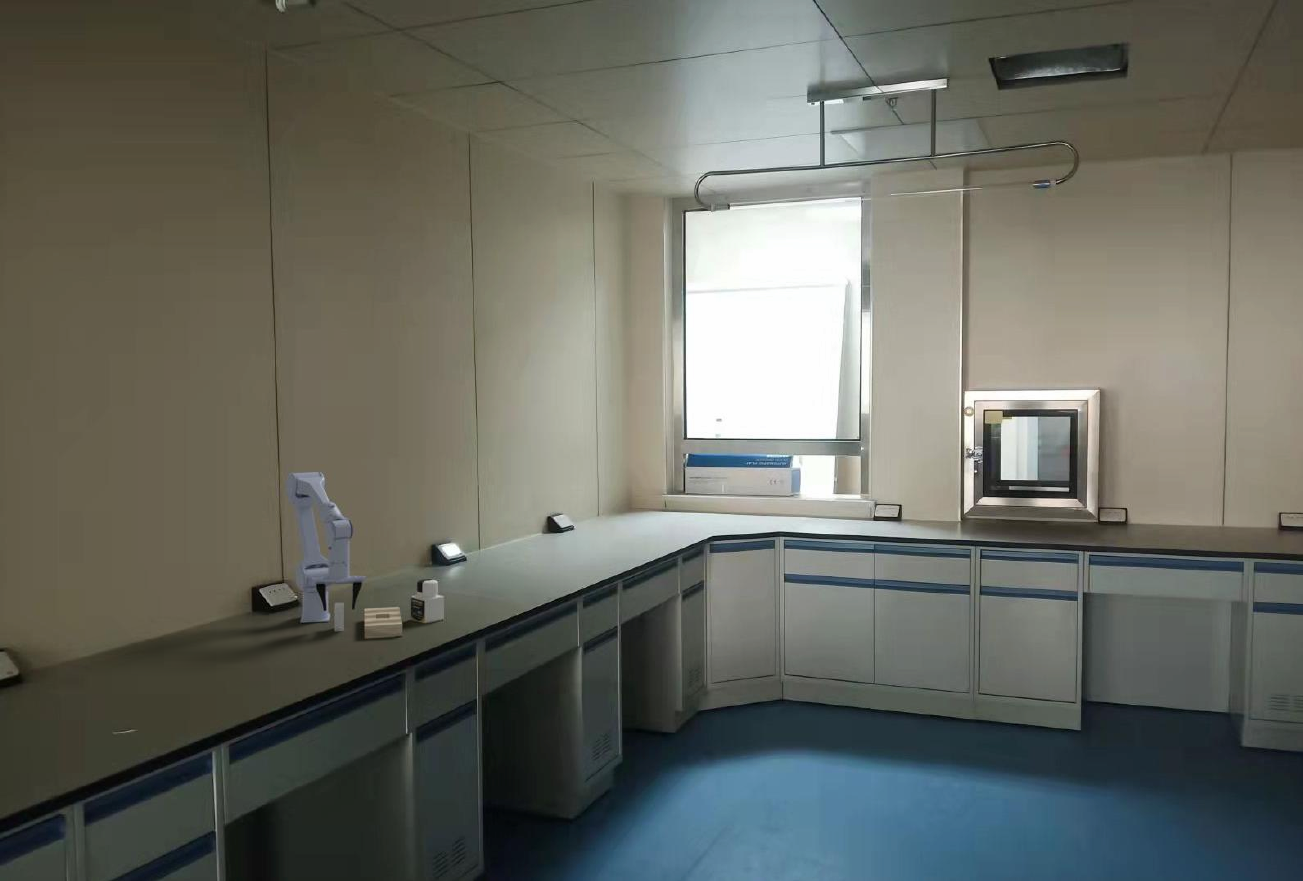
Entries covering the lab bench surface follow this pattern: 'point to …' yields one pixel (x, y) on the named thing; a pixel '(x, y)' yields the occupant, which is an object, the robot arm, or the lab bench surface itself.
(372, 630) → the beige slab
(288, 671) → the lab bench surface
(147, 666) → the lab bench surface
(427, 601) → the medicine bottle
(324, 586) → the robot arm
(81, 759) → the lab bench surface
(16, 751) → the lab bench surface
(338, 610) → the grey rectangular prism
